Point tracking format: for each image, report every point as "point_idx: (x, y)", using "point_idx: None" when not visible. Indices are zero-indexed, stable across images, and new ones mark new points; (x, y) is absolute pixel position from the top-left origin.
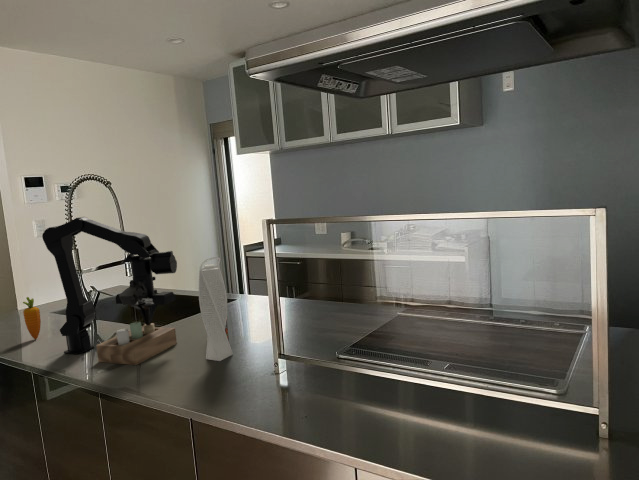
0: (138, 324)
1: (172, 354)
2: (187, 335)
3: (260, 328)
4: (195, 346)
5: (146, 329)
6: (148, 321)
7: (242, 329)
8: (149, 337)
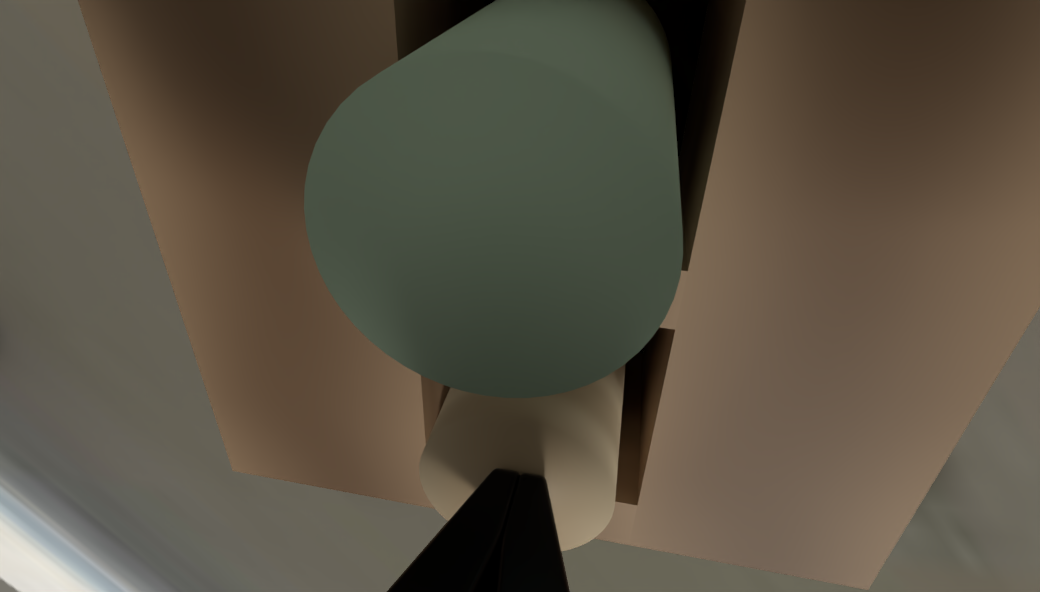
0: (315, 178)
1: (73, 15)
2: (403, 517)
3: (10, 567)
4: (80, 269)
5: None
6: (450, 519)
7: (99, 568)
8: (214, 55)
